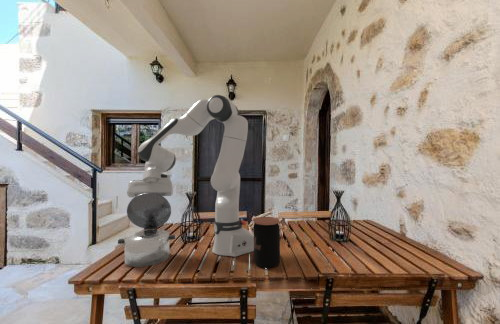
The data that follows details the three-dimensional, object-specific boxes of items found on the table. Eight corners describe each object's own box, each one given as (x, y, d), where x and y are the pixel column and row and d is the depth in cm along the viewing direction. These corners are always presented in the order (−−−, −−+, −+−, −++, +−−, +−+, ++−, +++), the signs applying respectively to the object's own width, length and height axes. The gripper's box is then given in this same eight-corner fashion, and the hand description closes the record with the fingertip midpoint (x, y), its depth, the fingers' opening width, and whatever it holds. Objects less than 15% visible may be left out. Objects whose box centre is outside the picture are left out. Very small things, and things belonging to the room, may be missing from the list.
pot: (124, 253, 114) (124, 231, 114) (176, 248, 119) (176, 227, 119) (112, 269, 96) (112, 244, 96) (173, 263, 102) (173, 239, 102)
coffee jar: (254, 258, 106) (253, 216, 106) (278, 258, 106) (278, 216, 106) (253, 269, 96) (253, 222, 96) (281, 269, 95) (280, 222, 95)
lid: (129, 231, 115) (130, 227, 118) (171, 228, 119) (172, 224, 122) (124, 195, 107) (126, 191, 110) (170, 193, 112) (170, 189, 115)
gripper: (128, 176, 118) (123, 199, 109) (172, 175, 123) (171, 197, 113) (130, 184, 122) (125, 208, 113) (173, 183, 127) (172, 205, 118)
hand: (149, 202), depth 113 cm, fingers closed, pressing on lid
